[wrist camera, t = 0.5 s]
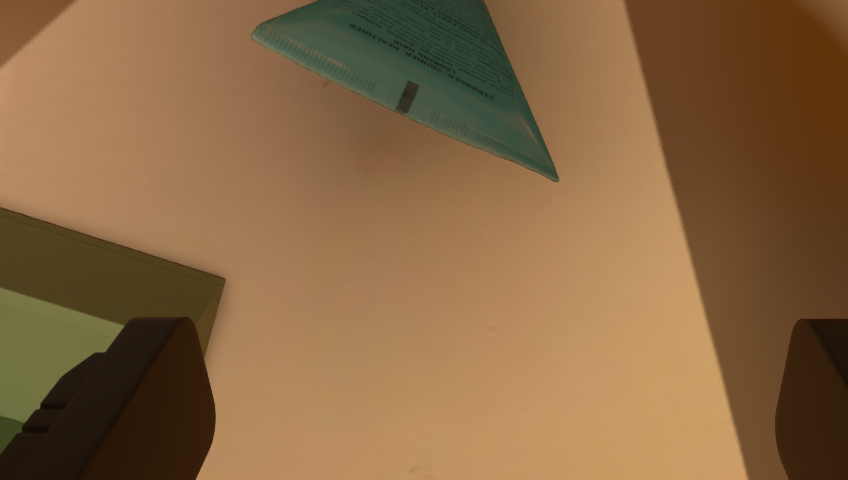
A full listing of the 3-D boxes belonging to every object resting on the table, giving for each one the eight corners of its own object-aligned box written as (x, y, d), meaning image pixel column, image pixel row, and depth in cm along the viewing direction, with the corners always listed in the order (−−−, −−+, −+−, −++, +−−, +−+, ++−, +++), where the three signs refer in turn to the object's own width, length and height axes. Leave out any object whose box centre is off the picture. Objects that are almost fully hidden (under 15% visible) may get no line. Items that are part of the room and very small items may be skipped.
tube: (335, 36, 35) (219, 144, 17) (370, -72, 33) (280, -75, 16) (488, 93, 36) (526, 254, 18) (529, -9, 34) (616, 57, 16)
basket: (-20, 201, 39) (-111, 253, 32) (225, 278, 40) (183, 344, 34) (-46, 403, 43) (-131, 484, 37) (174, 467, 44) (128, 556, 38)
